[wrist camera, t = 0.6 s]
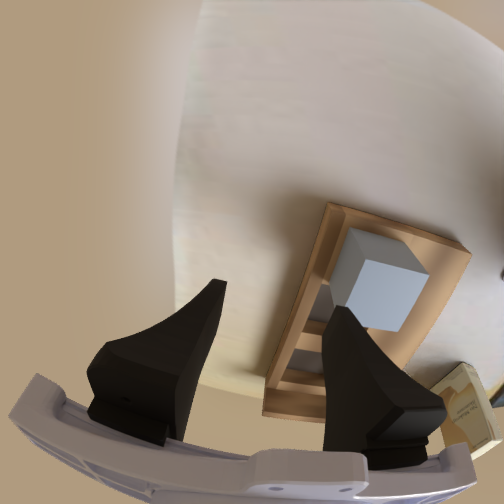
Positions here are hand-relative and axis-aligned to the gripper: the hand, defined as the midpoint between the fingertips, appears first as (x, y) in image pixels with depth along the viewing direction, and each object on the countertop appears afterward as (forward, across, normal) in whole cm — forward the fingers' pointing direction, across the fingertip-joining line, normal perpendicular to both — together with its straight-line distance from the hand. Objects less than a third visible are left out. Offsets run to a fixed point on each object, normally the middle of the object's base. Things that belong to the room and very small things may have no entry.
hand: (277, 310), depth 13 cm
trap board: (+9, -9, +7) cm, 15 cm away
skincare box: (+10, -28, +14) cm, 33 cm away
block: (+7, -6, 0) cm, 10 cm away
